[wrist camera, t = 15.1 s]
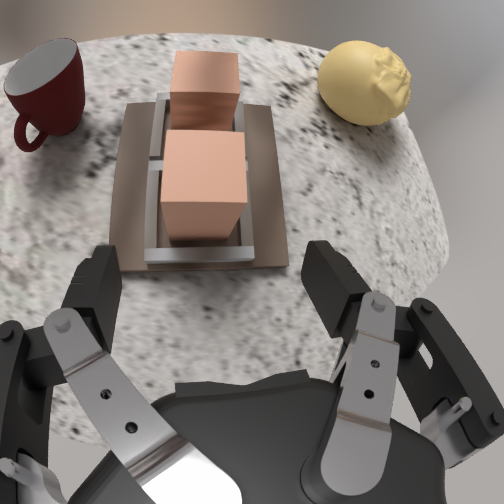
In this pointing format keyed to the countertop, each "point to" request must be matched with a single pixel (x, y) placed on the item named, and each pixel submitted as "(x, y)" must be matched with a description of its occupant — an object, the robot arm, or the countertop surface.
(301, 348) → the countertop surface
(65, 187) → the countertop surface
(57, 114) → the mug
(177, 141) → the pillar
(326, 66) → the sculpture
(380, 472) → the robot arm
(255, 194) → the wooden block stand
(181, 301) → the countertop surface
